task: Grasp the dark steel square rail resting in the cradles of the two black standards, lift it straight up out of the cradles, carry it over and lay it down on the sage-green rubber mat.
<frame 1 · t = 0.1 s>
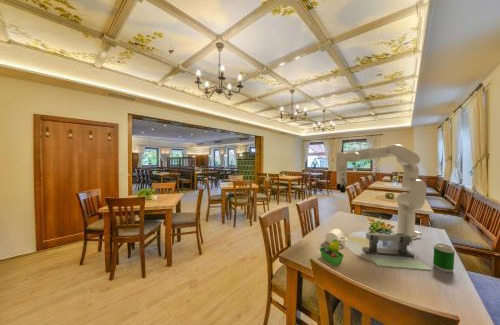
hand: (340, 191, 148), 31 cm above the table, fingers open, 9 cm apart
fruit basket: (331, 260, 110), on the table
mat: (399, 264, 106), on the table
soda can: (443, 269, 102), on the table
mug: (337, 243, 131), on the table
standards: (387, 253, 118), on the table
rail: (387, 239, 118), point 8 cm above the table, touching standards
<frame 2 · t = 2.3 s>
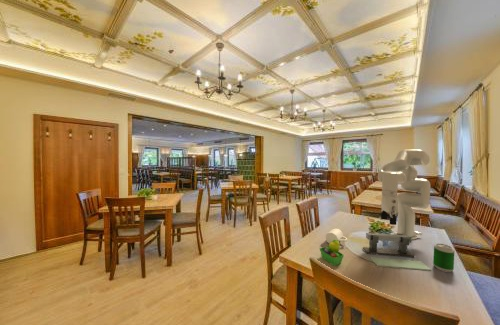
hand: (388, 221, 117), 19 cm above the table, fingers open, 9 cm apart
nothing on the table moved.
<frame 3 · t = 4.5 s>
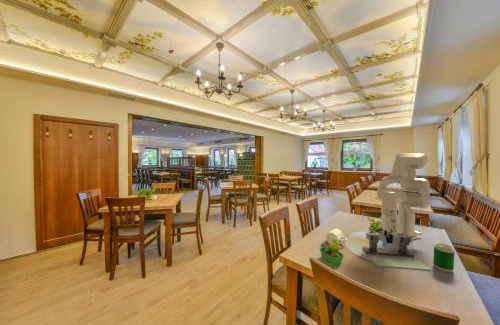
hand: (387, 241, 118), 7 cm above the table, fingers closed on rail, 3 cm apart
rail: (387, 239, 118), point 8 cm above the table, touching gripper, standards
everything else where it was.
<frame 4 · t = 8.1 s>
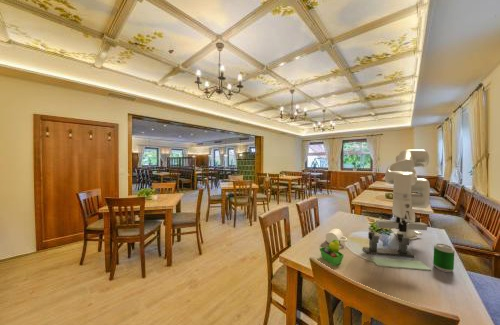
hand: (400, 229, 105), 19 cm above the table, fingers closed on rail, 3 cm apart
rail: (400, 227, 105), point 20 cm above the table, touching gripper
everything else where it was.
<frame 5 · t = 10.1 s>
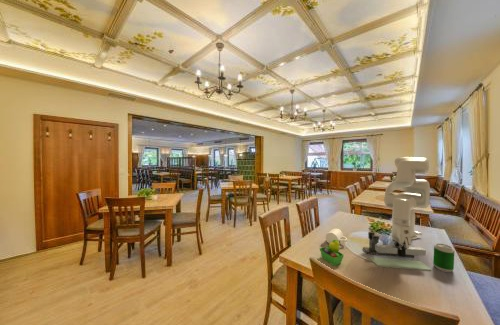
hand: (399, 254, 106), 5 cm above the table, fingers closed on rail, 3 cm apart
rail: (399, 252, 106), point 6 cm above the table, touching gripper
everything else where it was.
when the fingers open (1 cm above the table, at t = 11.8 s): rail drops 1 cm, resting on mat.
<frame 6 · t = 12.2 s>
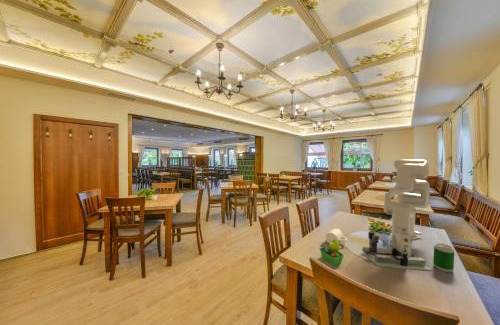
hand: (399, 261, 106), 2 cm above the table, fingers open, 7 cm apart
rail: (399, 262, 106), point 1 cm above the table, touching mat
everything else where it was.
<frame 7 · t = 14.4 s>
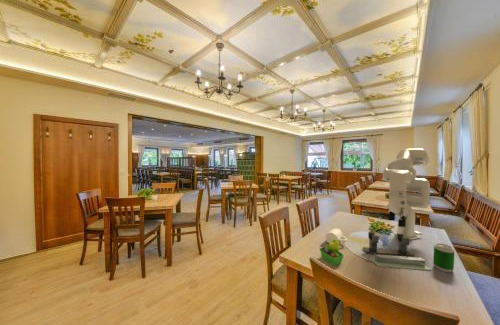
hand: (396, 223, 112), 20 cm above the table, fingers open, 9 cm apart
nothing on the table moved.
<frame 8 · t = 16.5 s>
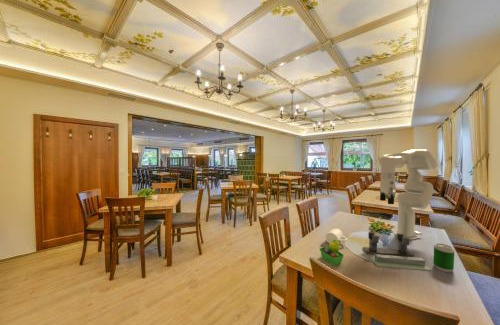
hand: (386, 202, 127), 28 cm above the table, fingers open, 9 cm apart
nothing on the table moved.
at the end: rail inside the target area (0.2 cm from its centre), point 0.6 cm above the table; rail touching mat; the gripper is holding nothing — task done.
